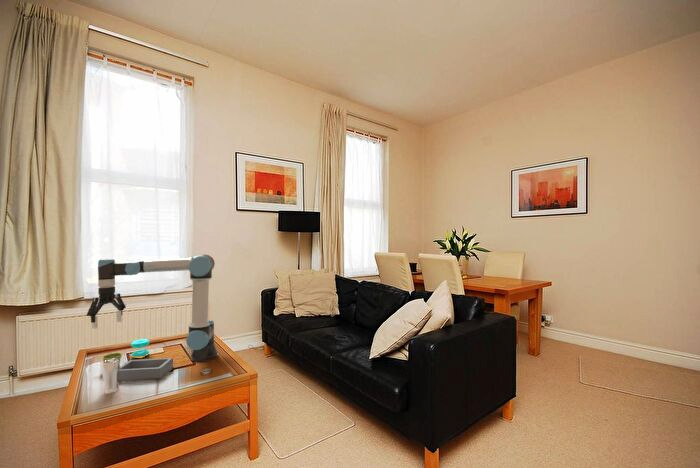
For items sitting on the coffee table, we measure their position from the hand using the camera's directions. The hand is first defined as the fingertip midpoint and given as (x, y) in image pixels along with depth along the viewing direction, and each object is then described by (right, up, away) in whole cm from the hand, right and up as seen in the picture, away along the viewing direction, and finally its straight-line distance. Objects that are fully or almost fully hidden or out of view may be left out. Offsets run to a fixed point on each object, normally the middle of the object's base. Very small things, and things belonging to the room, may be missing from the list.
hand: (107, 325), depth 183 cm
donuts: (+1, -28, +27) cm, 39 cm away
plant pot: (-1, -28, +5) cm, 28 cm away
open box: (+22, -27, -2) cm, 35 cm away
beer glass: (+17, -27, -21) cm, 38 cm away
